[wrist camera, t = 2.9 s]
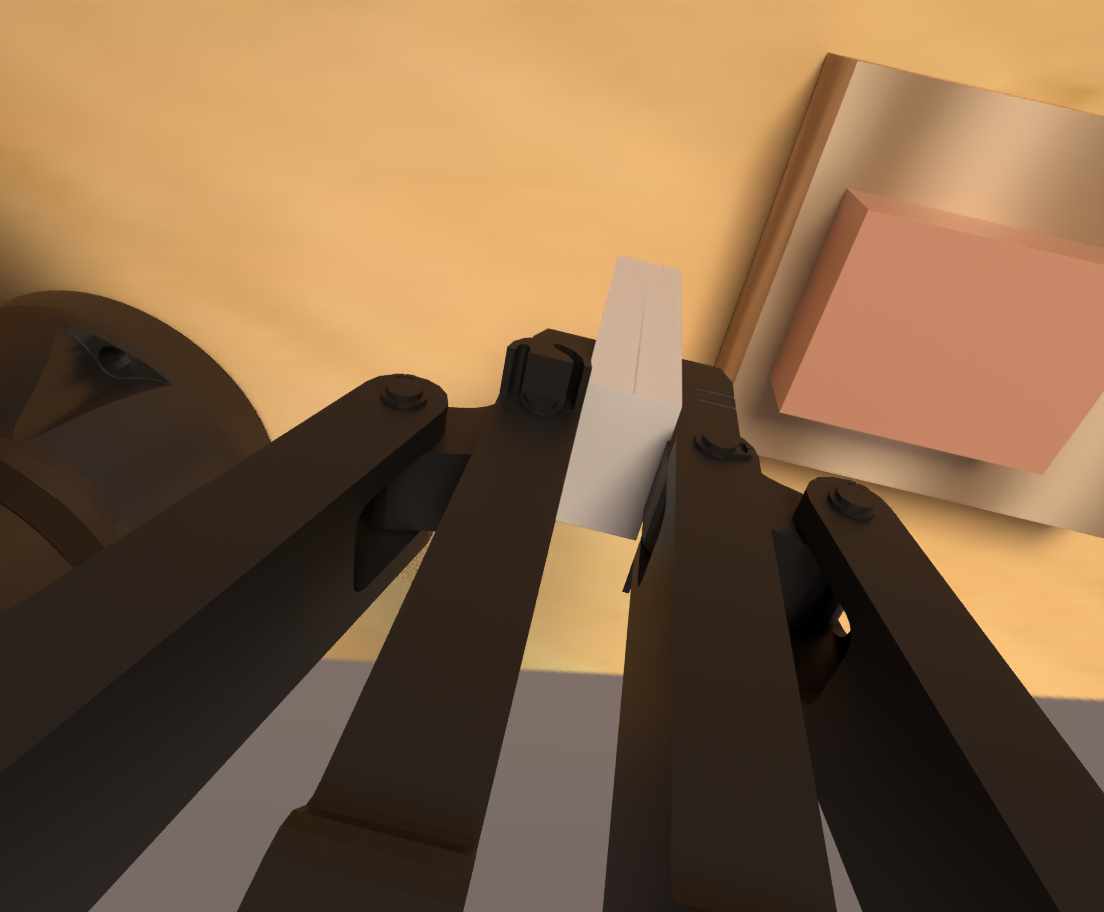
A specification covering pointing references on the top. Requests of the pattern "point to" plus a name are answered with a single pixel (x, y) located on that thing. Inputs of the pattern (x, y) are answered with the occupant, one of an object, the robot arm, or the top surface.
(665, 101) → the top surface
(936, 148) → the deck
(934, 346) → the tile
